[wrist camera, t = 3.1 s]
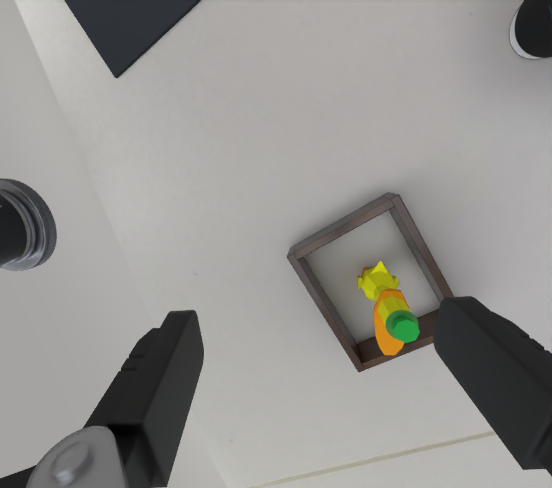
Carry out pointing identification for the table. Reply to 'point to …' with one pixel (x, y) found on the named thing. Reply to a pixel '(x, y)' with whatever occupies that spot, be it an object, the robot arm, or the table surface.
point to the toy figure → (388, 310)
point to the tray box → (360, 354)
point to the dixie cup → (532, 29)
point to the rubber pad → (127, 26)
